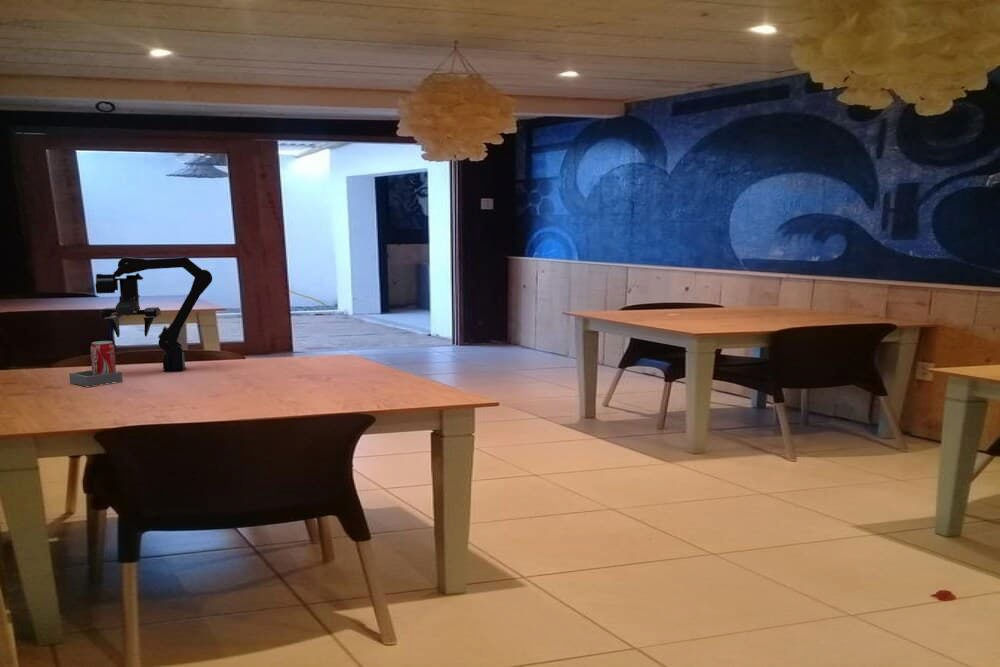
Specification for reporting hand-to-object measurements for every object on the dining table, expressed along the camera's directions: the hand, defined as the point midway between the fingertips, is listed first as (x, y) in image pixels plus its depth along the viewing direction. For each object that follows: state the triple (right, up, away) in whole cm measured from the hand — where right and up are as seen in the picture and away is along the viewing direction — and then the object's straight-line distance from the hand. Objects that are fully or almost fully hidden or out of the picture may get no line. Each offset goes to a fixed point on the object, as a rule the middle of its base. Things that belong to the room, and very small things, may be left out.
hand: (132, 336), depth 273 cm
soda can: (-2, -15, -14) cm, 21 cm away
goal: (-4, -15, -16) cm, 23 cm away
